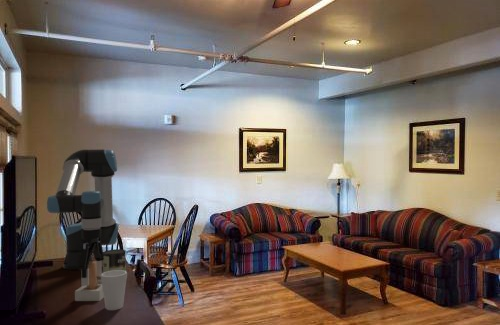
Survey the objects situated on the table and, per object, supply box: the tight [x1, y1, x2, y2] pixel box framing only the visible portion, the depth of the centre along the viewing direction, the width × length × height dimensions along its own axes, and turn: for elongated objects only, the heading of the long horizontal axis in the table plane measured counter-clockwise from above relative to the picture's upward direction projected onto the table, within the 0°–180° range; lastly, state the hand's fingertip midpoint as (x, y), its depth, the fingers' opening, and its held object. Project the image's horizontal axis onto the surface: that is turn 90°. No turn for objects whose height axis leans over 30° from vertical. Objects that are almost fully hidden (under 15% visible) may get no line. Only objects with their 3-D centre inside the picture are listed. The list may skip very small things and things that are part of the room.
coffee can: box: [102, 248, 127, 273], centre depth 180 cm, size 10×10×14 cm
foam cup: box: [100, 270, 128, 311], centre depth 147 cm, size 10×9×13 cm
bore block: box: [74, 278, 104, 302], centre depth 162 cm, size 16×10×4 cm, turn 179°
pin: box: [87, 260, 98, 290], centre depth 158 cm, size 4×4×14 cm
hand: (91, 280), depth 158 cm, fingers open, 12 cm apart
